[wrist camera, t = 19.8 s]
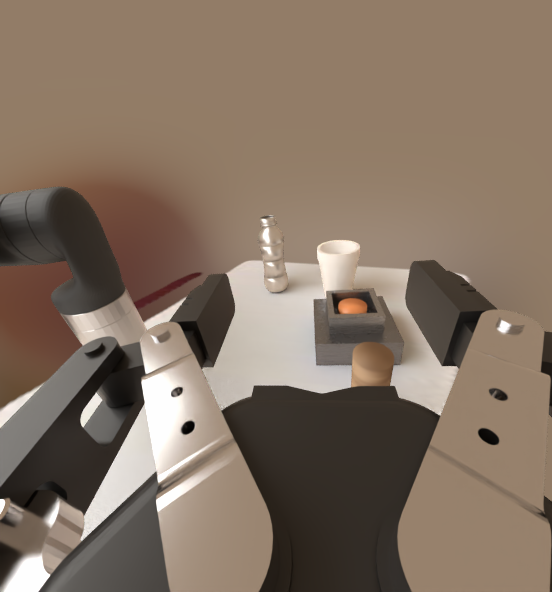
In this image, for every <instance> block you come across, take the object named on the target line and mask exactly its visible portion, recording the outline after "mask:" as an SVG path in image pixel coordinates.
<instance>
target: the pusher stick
mask: <svg viewBox="0 0 552 592" xmlns="http://www.w3.org/2000/svg"><path fill="white" fill-rule="evenodd" d="M393 364H394V355H393V353H392V351H391V350H390V349H389V348H388V347H386V346H384V345H382V344H380V343H376V342H363V343H360V344H358V345H357V346H356V347H355V348H354V350H353V359H352V380H351V387H355V386H390V382H391V376H392V370H393Z"/></svg>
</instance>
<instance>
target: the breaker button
mask: <svg viewBox="0 0 552 592" xmlns="http://www.w3.org/2000/svg"><path fill="white" fill-rule="evenodd" d="M359 313H367V304H366V303H365V302H364V301H362V300H360V299H356V298H348V299H344V300H342V301H340V303H339V305H338V314H359Z"/></svg>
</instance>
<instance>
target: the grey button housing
mask: <svg viewBox="0 0 552 592" xmlns="http://www.w3.org/2000/svg"><path fill="white" fill-rule="evenodd" d="M348 298H356V299H360V300H362V301H364V302H365V303H366V304H367V313H359V314H338V305H339V303H340V301H342V300H344V299H348ZM314 322H315V348H316V365H352V359H353V350H354V348H355V347H356V346H357V345H358V344H360V343H363V342H376V343H380V344H382V345H384V346H386V347H388V348H389V349H390V350H391V351H392V353H393V355H394V364H393V365H400V362H401V357H402V351H403V346H404V341H403V339H402V337H401V335H400V333H399V331H398V329H397V327H396V325H395V323H394V320H393V318H392V316H391V314H390V312H389V310H388V308H387V306H386V304H385V302H384V299H383V297H382V296H379V297H377V296H376V293H375V291H374V289H373V288H372V289H353V290H333V291H326V299H314Z"/></svg>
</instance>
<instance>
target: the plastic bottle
mask: <svg viewBox="0 0 552 592" xmlns="http://www.w3.org/2000/svg"><path fill="white" fill-rule="evenodd" d="M275 219H276V218H275V216H274V215H267V216H263V217H261V218H260V222H261V226H262V229H261V231H260V233H259V236H258V244H259V247H260V250H261V253H262V258H263V263H264V274H265V275H264V284H265V287H266V289H267V290H268V291H270V292H281V291H283V290H285V289H286V288H287V286H288V276H287V273H286V269H285V264H284V252H283V251H284V250H283V249H284V236H283V234H282V232H281V231H280V230H279V229H278V228H277V227H276V224H277V223H276V220H275Z"/></svg>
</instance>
